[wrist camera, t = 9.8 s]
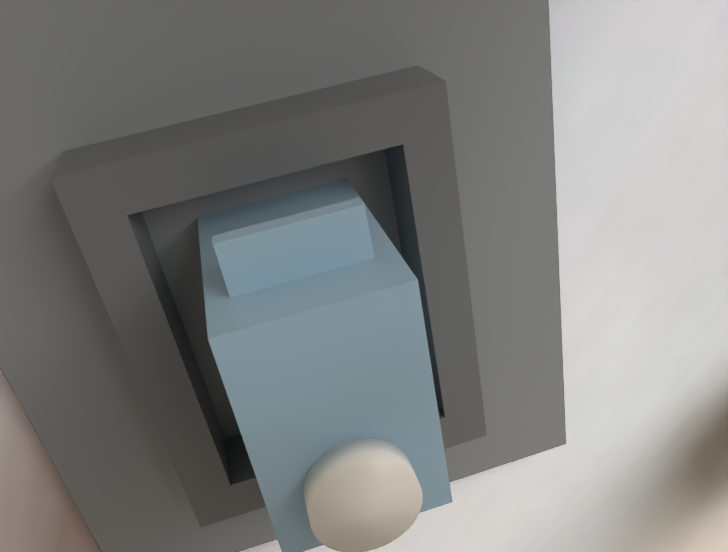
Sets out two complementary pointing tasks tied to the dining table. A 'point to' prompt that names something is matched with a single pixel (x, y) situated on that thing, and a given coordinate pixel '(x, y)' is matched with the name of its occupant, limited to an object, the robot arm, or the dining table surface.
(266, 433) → the block
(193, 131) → the chassis plate
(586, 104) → the dining table surface
